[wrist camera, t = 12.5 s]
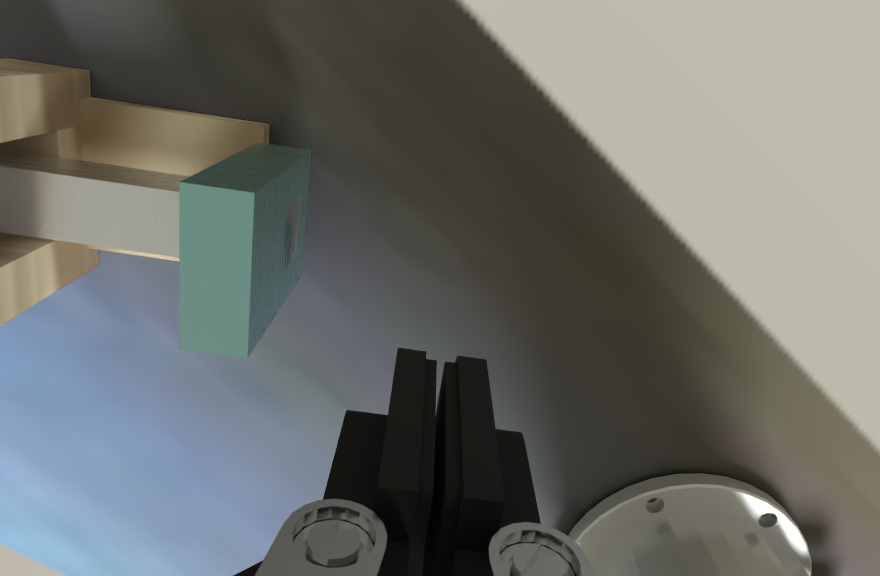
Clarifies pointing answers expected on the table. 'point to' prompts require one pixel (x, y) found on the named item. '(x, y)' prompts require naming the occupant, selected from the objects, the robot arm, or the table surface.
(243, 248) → the mallet
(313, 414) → the table surface
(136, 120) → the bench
